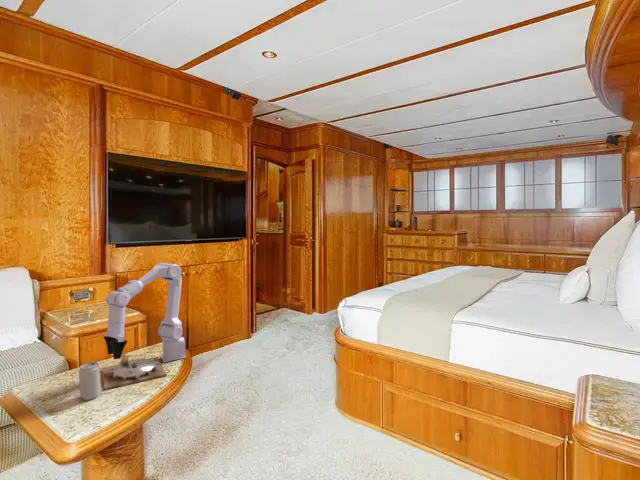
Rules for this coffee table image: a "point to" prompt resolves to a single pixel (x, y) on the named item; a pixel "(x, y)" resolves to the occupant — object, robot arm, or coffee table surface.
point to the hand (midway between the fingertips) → (114, 356)
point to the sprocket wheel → (133, 367)
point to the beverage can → (89, 380)
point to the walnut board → (118, 382)
